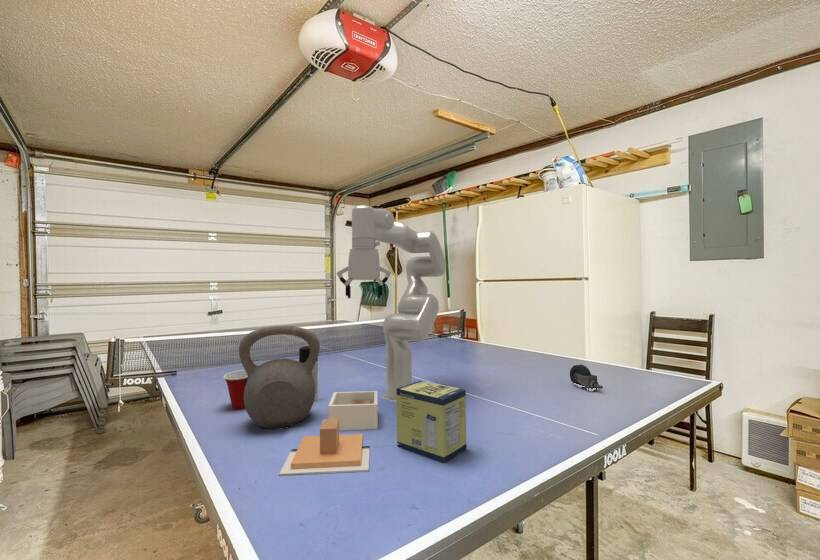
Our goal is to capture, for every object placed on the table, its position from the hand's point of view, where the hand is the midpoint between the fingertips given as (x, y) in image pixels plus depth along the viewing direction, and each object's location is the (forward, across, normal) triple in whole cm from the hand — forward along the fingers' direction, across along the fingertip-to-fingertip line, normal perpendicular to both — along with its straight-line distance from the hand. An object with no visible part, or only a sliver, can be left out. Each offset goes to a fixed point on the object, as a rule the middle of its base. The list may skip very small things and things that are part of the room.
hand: (364, 298), depth 125 cm
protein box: (+39, -18, +25) cm, 49 cm away
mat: (+38, +8, +26) cm, 47 cm away
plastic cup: (+38, +44, -15) cm, 60 cm away
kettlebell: (+38, +26, +2) cm, 46 cm away
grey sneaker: (+39, -87, -23) cm, 98 cm away
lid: (+38, +8, +26) cm, 47 cm away
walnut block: (+37, +2, +4) cm, 38 cm away
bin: (+38, +3, +6) cm, 39 cm away
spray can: (+38, +21, -18) cm, 47 cm away
